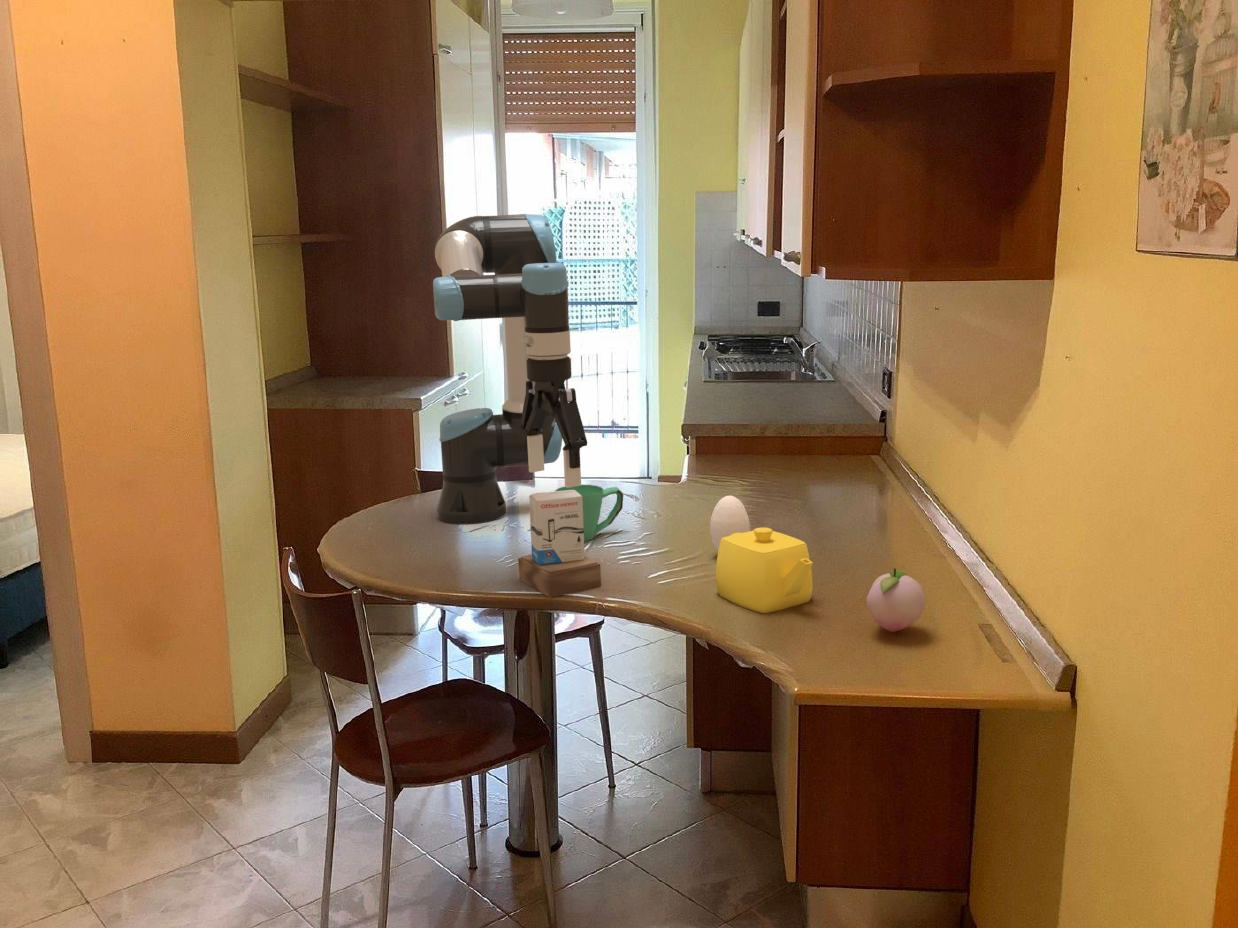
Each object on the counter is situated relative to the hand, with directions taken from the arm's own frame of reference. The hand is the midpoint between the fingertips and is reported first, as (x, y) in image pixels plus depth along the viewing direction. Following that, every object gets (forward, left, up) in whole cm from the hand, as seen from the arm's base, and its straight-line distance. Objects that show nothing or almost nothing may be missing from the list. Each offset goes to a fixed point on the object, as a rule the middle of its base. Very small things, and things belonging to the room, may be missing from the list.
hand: (554, 478), depth 180 cm
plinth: (0, 0, -19) cm, 19 cm away
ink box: (0, 0, -15) cm, 15 cm away
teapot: (+28, +24, -19) cm, 42 cm away
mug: (-22, +19, -19) cm, 35 cm away
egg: (+6, +33, -19) cm, 39 cm away
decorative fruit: (+51, +30, -19) cm, 62 cm away
